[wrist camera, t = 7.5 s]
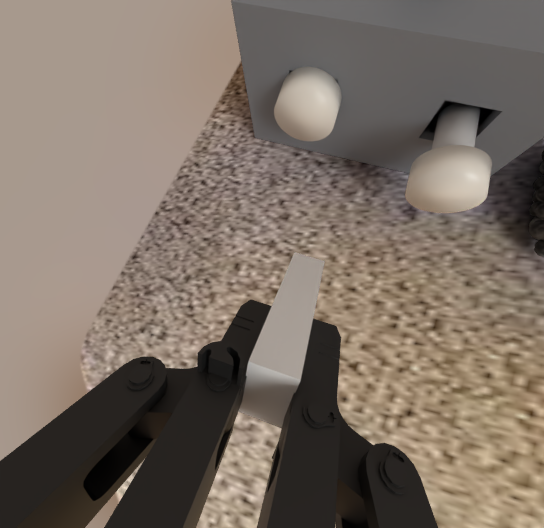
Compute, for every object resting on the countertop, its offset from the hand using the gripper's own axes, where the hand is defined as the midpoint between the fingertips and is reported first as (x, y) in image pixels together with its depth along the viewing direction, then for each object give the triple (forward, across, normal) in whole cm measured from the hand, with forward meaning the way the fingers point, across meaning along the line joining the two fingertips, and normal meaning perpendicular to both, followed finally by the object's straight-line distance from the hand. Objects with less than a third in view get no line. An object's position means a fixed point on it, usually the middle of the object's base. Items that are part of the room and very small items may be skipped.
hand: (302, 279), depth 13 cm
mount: (+24, +2, +6) cm, 24 cm away
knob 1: (+18, -4, +7) cm, 20 cm away
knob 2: (+16, +8, +4) cm, 18 cm away
